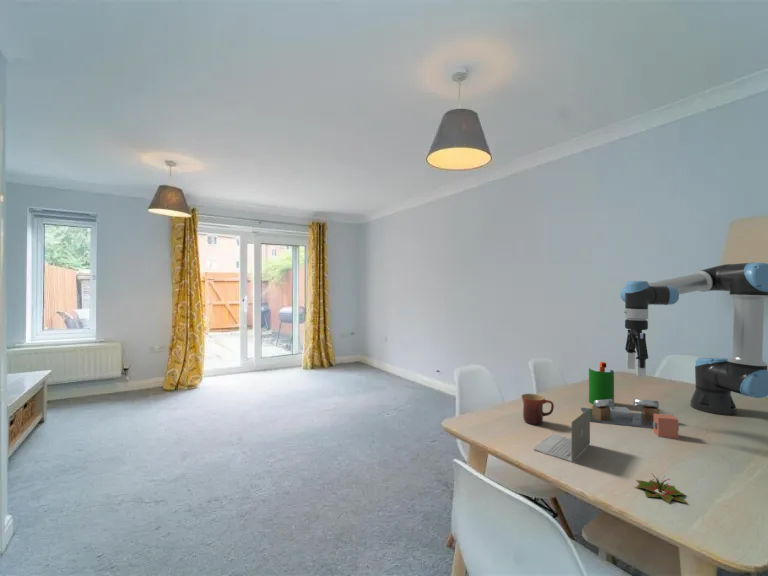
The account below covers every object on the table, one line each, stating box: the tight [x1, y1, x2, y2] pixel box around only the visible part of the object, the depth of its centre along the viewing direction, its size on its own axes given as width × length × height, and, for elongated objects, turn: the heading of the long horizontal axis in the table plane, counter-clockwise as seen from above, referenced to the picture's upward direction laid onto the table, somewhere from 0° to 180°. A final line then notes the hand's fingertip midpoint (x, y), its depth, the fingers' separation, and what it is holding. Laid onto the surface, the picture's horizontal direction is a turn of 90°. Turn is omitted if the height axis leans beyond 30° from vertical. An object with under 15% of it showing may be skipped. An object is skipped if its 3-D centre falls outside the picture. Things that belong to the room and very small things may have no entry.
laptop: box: [533, 408, 591, 463], centre depth 122 cm, size 18×12×13 cm
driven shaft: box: [591, 399, 615, 420], centre depth 147 cm, size 8×4×7 cm, turn 106°
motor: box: [588, 361, 615, 408], centre depth 167 cm, size 10×9×20 cm
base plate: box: [580, 398, 661, 429], centre depth 148 cm, size 27×15×8 cm, turn 71°
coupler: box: [653, 413, 680, 439], centre depth 132 cm, size 7×4×7 cm, turn 71°
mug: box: [521, 393, 555, 426], centre depth 144 cm, size 12×9×10 cm
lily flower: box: [636, 473, 688, 505], centre depth 95 cm, size 12×12×5 cm
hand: (635, 372), depth 143 cm, fingers open, 13 cm apart
